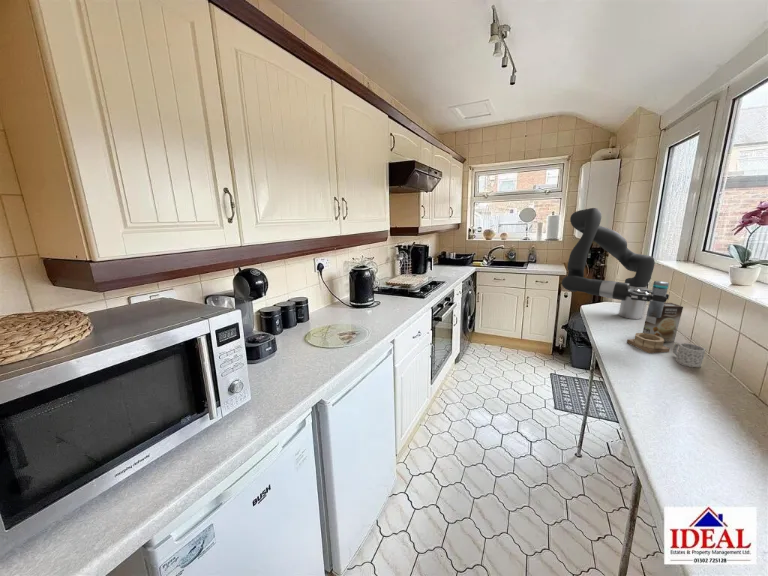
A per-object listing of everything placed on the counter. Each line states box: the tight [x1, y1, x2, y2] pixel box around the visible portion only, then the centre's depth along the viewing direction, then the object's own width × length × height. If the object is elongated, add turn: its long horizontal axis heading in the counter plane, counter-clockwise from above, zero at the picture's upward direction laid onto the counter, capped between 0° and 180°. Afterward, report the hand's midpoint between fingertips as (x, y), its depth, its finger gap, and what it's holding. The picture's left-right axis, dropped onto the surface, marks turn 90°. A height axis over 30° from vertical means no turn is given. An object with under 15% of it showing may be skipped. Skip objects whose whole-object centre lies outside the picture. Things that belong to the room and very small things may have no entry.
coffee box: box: [642, 302, 684, 343], centre depth 131 cm, size 9×6×16 cm
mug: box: [672, 342, 706, 368], centre depth 112 cm, size 10×7×7 cm
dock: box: [626, 332, 671, 354], centre depth 124 cm, size 9×10×4 cm
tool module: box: [646, 280, 670, 318], centre depth 119 cm, size 4×4×14 cm
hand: (667, 298), depth 117 cm, fingers closed on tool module, 4 cm apart
